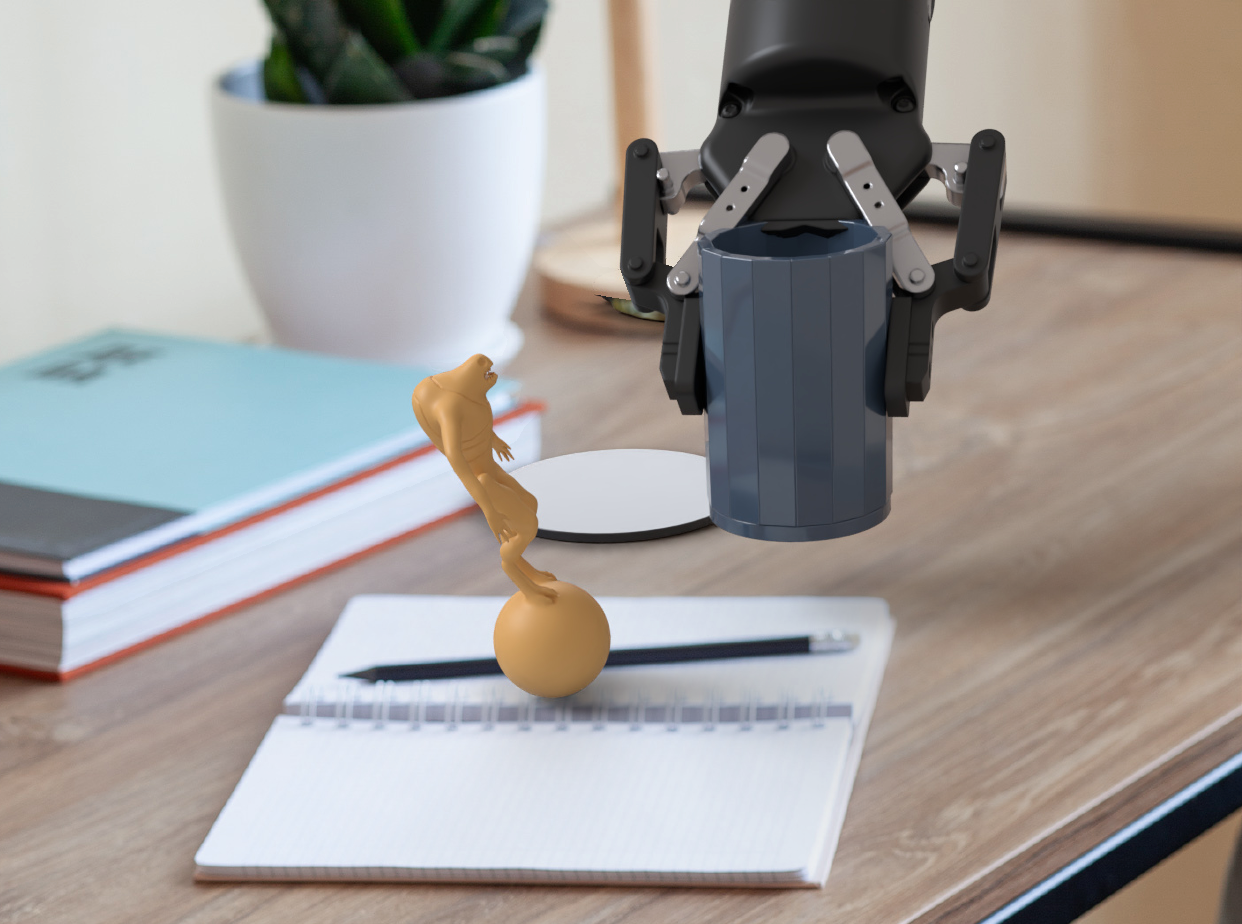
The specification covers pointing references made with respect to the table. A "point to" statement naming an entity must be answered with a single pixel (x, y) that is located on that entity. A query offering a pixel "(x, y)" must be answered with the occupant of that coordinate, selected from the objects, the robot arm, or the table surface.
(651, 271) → the robot arm
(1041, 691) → the table surface
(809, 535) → the cup
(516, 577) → the figurine
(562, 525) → the coaster
